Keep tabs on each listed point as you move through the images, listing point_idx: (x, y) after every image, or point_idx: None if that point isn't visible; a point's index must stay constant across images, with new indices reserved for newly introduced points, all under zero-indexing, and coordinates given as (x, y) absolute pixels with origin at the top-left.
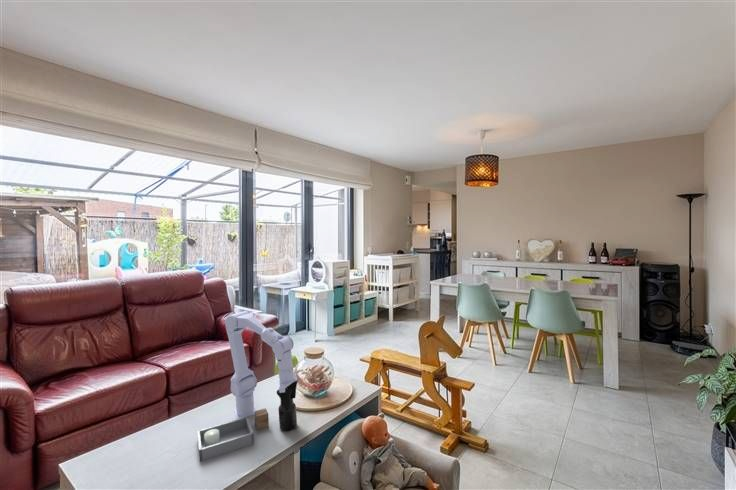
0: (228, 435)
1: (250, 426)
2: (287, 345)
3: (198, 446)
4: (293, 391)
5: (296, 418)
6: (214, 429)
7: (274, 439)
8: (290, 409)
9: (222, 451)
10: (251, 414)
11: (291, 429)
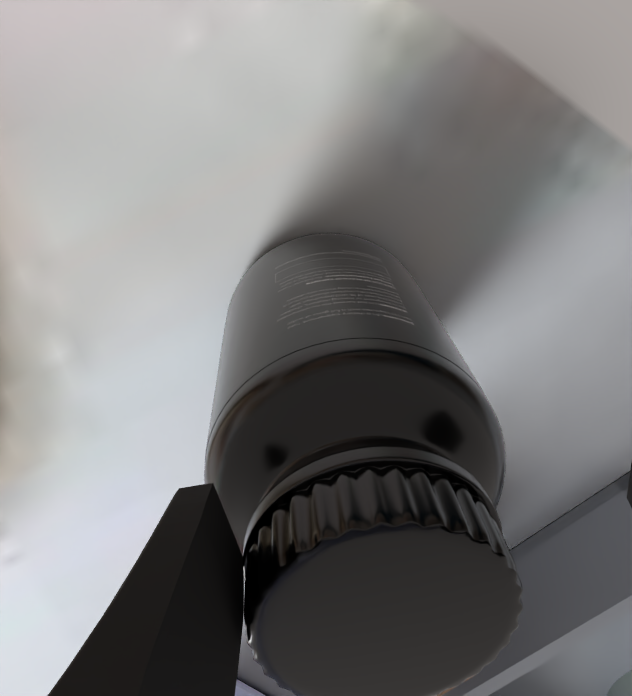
0: (530, 678)
1: (578, 629)
2: None
3: None
4: (182, 651)
5: (298, 267)
6: None
7: (548, 353)
8: (462, 390)
9: None
10: (235, 692)
11: (395, 258)
